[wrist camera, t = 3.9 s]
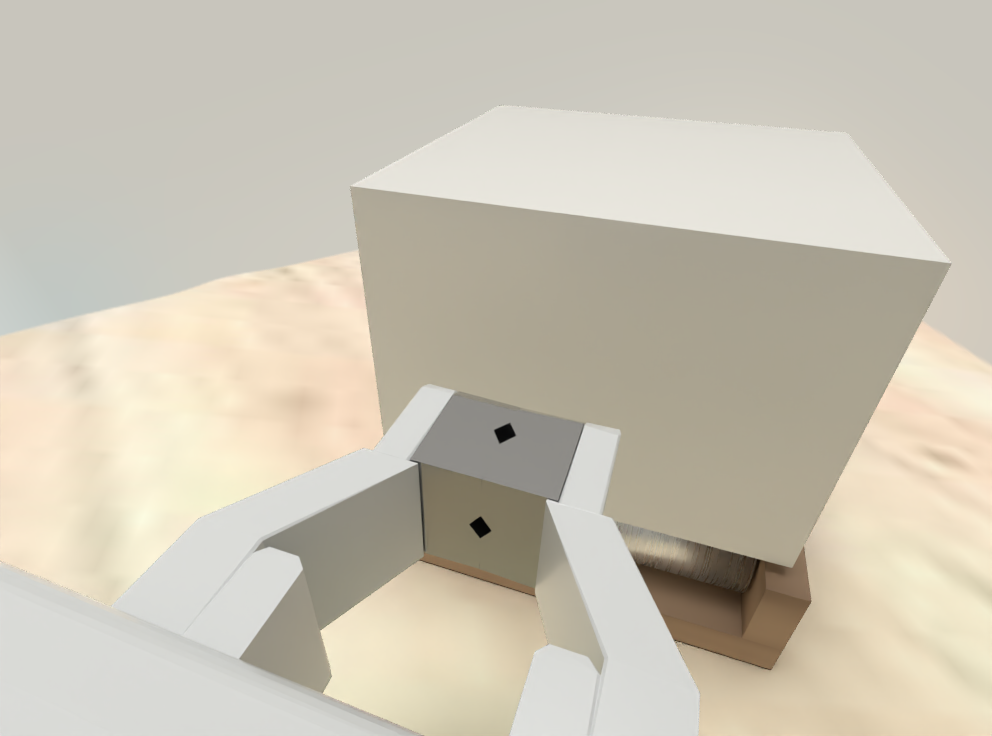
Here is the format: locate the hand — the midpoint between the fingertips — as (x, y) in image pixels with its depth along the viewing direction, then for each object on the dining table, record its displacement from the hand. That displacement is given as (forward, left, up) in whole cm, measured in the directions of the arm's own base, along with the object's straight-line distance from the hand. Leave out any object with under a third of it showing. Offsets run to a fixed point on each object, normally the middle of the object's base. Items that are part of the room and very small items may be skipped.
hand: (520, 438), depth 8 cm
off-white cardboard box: (0, -9, -6) cm, 11 cm away
